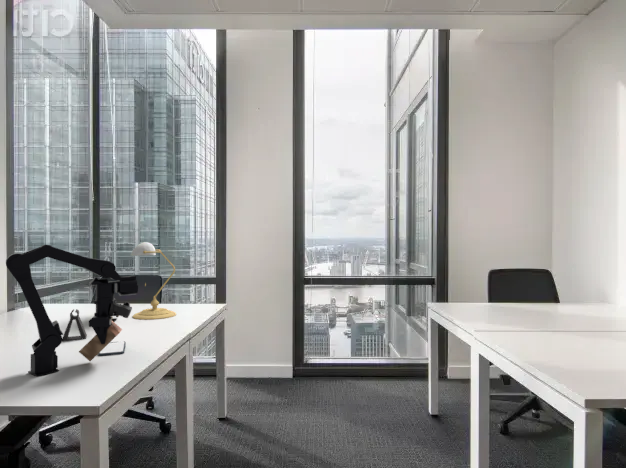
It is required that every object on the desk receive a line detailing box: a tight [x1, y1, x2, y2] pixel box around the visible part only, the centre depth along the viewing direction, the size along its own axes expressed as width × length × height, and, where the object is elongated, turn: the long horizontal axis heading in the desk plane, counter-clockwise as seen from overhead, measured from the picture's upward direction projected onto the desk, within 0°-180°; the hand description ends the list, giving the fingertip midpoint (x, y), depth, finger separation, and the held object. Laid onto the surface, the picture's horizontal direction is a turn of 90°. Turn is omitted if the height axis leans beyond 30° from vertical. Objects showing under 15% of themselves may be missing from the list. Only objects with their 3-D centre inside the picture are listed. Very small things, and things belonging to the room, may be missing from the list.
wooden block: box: [78, 321, 123, 362], centre depth 148 cm, size 5×5×13 cm
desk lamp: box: [129, 241, 177, 321], centre depth 235 cm, size 31×23×40 cm
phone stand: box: [62, 309, 88, 342], centre depth 183 cm, size 9×6×12 cm, turn 114°
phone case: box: [97, 340, 126, 357], centre depth 165 cm, size 9×2×16 cm
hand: (104, 342), depth 149 cm, fingers closed on wooden block, 5 cm apart
